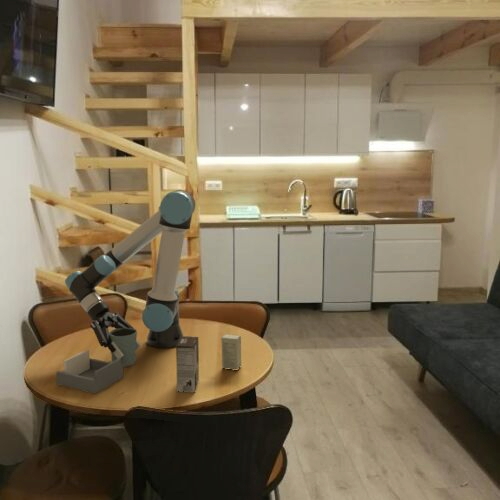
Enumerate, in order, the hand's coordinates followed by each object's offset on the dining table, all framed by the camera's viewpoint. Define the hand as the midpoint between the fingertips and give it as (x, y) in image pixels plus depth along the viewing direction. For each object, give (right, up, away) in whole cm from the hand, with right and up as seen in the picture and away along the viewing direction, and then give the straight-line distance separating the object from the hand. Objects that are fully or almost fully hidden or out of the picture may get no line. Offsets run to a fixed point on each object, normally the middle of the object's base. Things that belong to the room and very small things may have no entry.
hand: (130, 352), depth 180 cm
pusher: (-15, -5, -12) cm, 20 cm away
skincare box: (+38, -5, -2) cm, 38 cm away
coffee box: (+24, -8, -18) cm, 31 cm away
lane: (-10, -7, -14) cm, 19 cm away
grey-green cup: (-3, -4, +2) cm, 5 cm away
